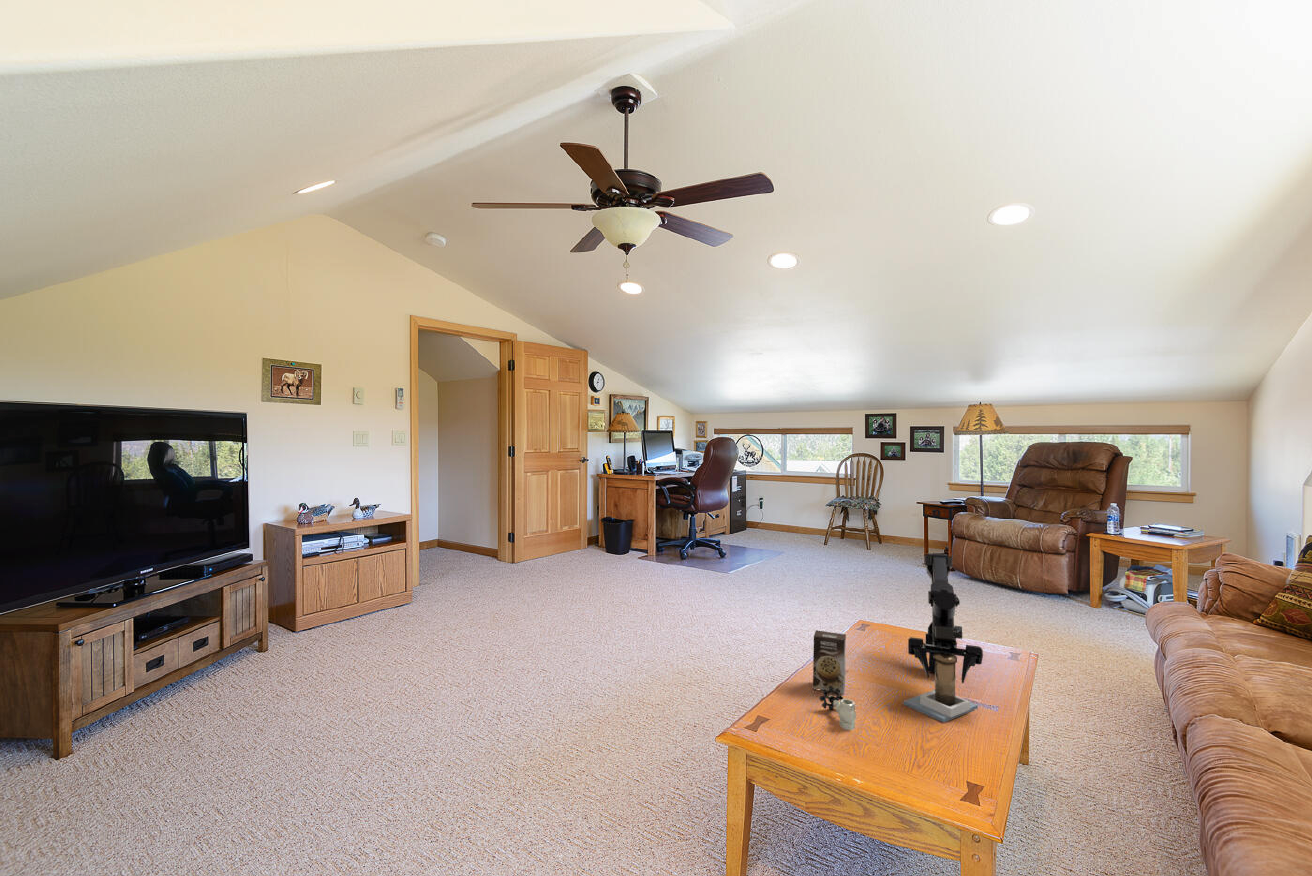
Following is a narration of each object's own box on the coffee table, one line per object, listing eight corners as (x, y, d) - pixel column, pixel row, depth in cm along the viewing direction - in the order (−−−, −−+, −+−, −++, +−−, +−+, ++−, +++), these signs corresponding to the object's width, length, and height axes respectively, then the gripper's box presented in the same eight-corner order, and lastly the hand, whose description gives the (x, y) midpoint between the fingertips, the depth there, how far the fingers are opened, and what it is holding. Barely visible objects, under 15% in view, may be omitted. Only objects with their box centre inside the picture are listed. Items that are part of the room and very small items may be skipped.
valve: (863, 730, 146) (841, 708, 157) (863, 704, 146) (841, 684, 157) (839, 732, 145) (818, 710, 156) (839, 706, 145) (819, 686, 157)
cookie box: (812, 690, 169) (812, 635, 169) (814, 681, 175) (815, 629, 175) (844, 695, 166) (844, 640, 166) (845, 686, 172) (846, 633, 172)
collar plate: (937, 692, 168) (937, 681, 168) (979, 709, 157) (979, 697, 157) (903, 704, 160) (903, 693, 160) (945, 723, 149) (945, 711, 149)
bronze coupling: (934, 699, 161) (935, 650, 161) (957, 705, 158) (958, 654, 158) (931, 707, 156) (932, 656, 156) (955, 713, 153) (955, 661, 153)
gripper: (908, 609, 164) (908, 660, 154) (982, 617, 157) (987, 672, 146) (908, 628, 171) (908, 678, 161) (979, 637, 164) (983, 690, 154)
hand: (945, 679), depth 155 cm, fingers open, 8 cm apart
